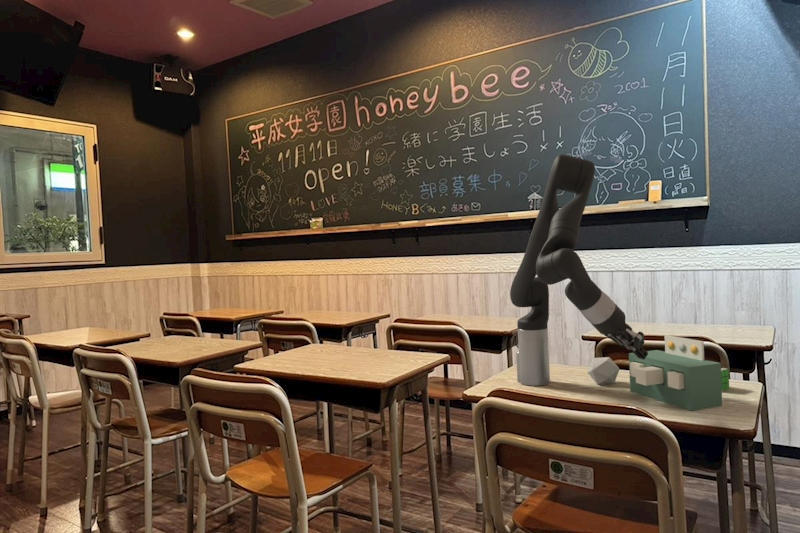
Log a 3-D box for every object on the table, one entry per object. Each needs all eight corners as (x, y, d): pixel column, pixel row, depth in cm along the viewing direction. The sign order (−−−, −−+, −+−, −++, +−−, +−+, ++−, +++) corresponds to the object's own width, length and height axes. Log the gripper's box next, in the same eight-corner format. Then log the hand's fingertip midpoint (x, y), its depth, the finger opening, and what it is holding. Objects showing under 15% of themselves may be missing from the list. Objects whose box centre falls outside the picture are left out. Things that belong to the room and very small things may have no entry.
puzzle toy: (729, 388, 159) (728, 368, 159) (717, 392, 156) (717, 371, 156) (709, 385, 164) (708, 365, 164) (698, 388, 161) (697, 368, 161)
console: (630, 391, 161) (628, 336, 161) (658, 387, 164) (656, 332, 164) (691, 411, 140) (688, 347, 140) (722, 405, 143) (720, 343, 143)
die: (615, 390, 166) (627, 361, 169) (588, 375, 168) (600, 347, 170) (606, 393, 174) (617, 365, 177) (580, 379, 175) (592, 352, 178)
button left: (630, 375, 159) (629, 362, 158) (647, 373, 160) (647, 360, 160) (639, 378, 155) (639, 364, 155) (657, 376, 157) (657, 362, 157)
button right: (667, 386, 145) (667, 371, 145) (686, 383, 147) (685, 369, 147) (679, 389, 142) (678, 374, 141) (698, 386, 143) (697, 372, 143)
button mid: (635, 382, 151) (635, 368, 151) (654, 380, 152) (653, 366, 152) (646, 385, 147) (645, 371, 147) (664, 383, 149) (664, 368, 149)
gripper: (628, 301, 131) (672, 348, 135) (592, 298, 144) (633, 341, 148) (610, 326, 129) (655, 373, 134) (575, 320, 142) (617, 363, 146)
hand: (644, 356), depth 141 cm, fingers closed
